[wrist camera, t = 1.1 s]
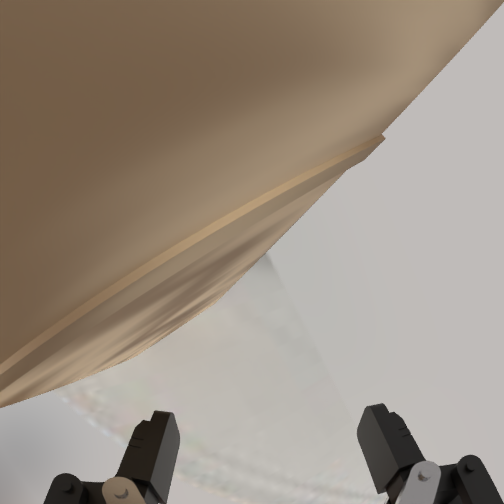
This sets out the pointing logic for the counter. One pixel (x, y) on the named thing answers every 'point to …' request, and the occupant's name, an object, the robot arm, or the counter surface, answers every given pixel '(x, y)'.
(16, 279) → the wooden block tower
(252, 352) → the counter surface
